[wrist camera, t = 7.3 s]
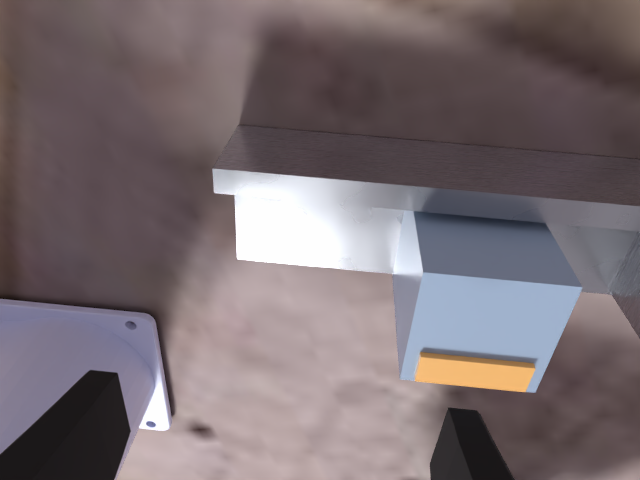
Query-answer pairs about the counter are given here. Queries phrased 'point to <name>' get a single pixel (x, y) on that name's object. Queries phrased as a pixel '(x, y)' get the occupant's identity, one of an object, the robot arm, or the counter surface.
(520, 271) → the block
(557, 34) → the counter surface
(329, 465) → the counter surface
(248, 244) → the rail
